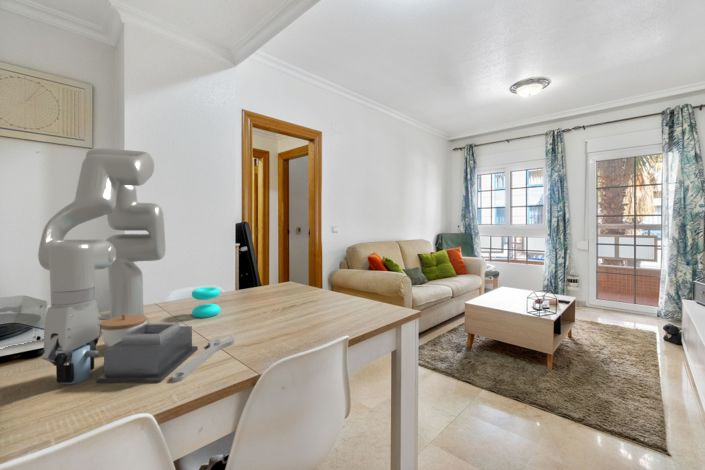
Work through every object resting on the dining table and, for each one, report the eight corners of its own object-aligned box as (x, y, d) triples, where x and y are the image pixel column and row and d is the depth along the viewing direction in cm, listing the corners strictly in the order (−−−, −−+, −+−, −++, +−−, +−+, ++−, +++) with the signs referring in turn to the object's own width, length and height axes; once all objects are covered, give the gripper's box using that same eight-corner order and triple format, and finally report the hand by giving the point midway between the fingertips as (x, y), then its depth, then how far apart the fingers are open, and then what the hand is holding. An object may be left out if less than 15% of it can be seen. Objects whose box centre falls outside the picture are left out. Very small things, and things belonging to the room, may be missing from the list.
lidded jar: (108, 342, 94) (107, 311, 93) (150, 337, 98) (149, 307, 98) (95, 356, 84) (94, 322, 84) (142, 350, 88) (142, 317, 88)
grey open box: (96, 382, 70) (95, 343, 70) (146, 350, 88) (145, 318, 88) (160, 382, 71) (159, 342, 70) (197, 349, 89) (196, 318, 88)
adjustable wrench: (180, 384, 71) (180, 376, 71) (154, 382, 72) (154, 374, 72) (237, 342, 95) (237, 336, 95) (218, 340, 96) (218, 335, 96)
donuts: (185, 291, 118) (203, 286, 128) (185, 317, 119) (204, 310, 128) (208, 292, 116) (225, 287, 126) (209, 319, 116) (225, 312, 126)
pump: (55, 384, 69) (54, 353, 69) (74, 373, 74) (73, 344, 74) (88, 384, 70) (87, 353, 69) (105, 373, 75) (104, 344, 74)
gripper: (87, 288, 80) (89, 359, 80) (17, 307, 63) (21, 396, 63) (117, 288, 80) (119, 359, 81) (56, 306, 63) (59, 396, 64)
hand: (76, 374), depth 72 cm, fingers closed on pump, 5 cm apart
